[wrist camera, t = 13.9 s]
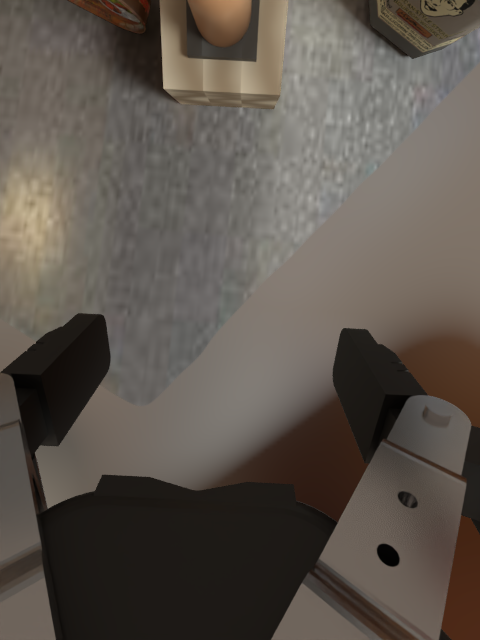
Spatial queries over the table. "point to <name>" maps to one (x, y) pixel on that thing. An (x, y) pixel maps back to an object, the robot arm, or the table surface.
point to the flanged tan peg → (221, 20)
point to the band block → (224, 58)
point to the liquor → (424, 22)
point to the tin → (119, 12)
